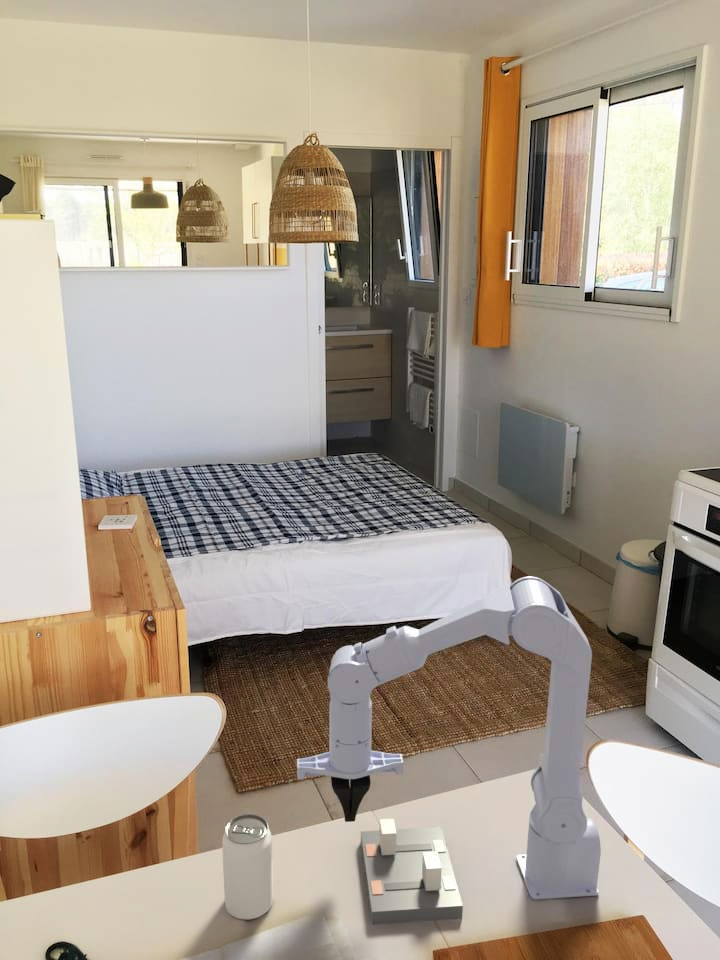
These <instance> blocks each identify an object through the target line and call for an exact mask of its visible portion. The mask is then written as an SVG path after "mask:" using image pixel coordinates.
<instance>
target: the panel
mask: <svg viewBox="0 0 720 960" xmlns="http://www.w3.org/2000/svg"><path fill="white" fill-rule="evenodd" d="M379 832H380V829H379V830H366V831H362V830H361V831H360V849H361V856H362V863H363V869H364V877H365V884H366V892H367V898H368V899H367V900H368V906H369V915H370V921H371V925H381V924H382V925H383V924H393V923H395V924H397V923H408V922H424V921H436V920H439V921H440V920H451V919H452V920H453V919H454V920H455V919H462V918H463V911H464V906H463V905H464V904H463V901H462V898H461V894H460V891H459V887H458V884H457V879H456V876H455V872H454V869H453V865H452V861H451V858H450V857H451V856H450V855H449V851H448V847H447V843H446V840H445V839H446V838H445V836H444V833H443V829H442V826H434V827H417V828H416V827H415V828H399V829H398V828H397V829H396V854H395V855H382V853H381V847H380V841H379ZM423 852H438V856H439V860H440V863H441V867H442V871H441V890H433V891H426V890H425V885H424V881H423V876H422V862H423Z"/></svg>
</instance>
